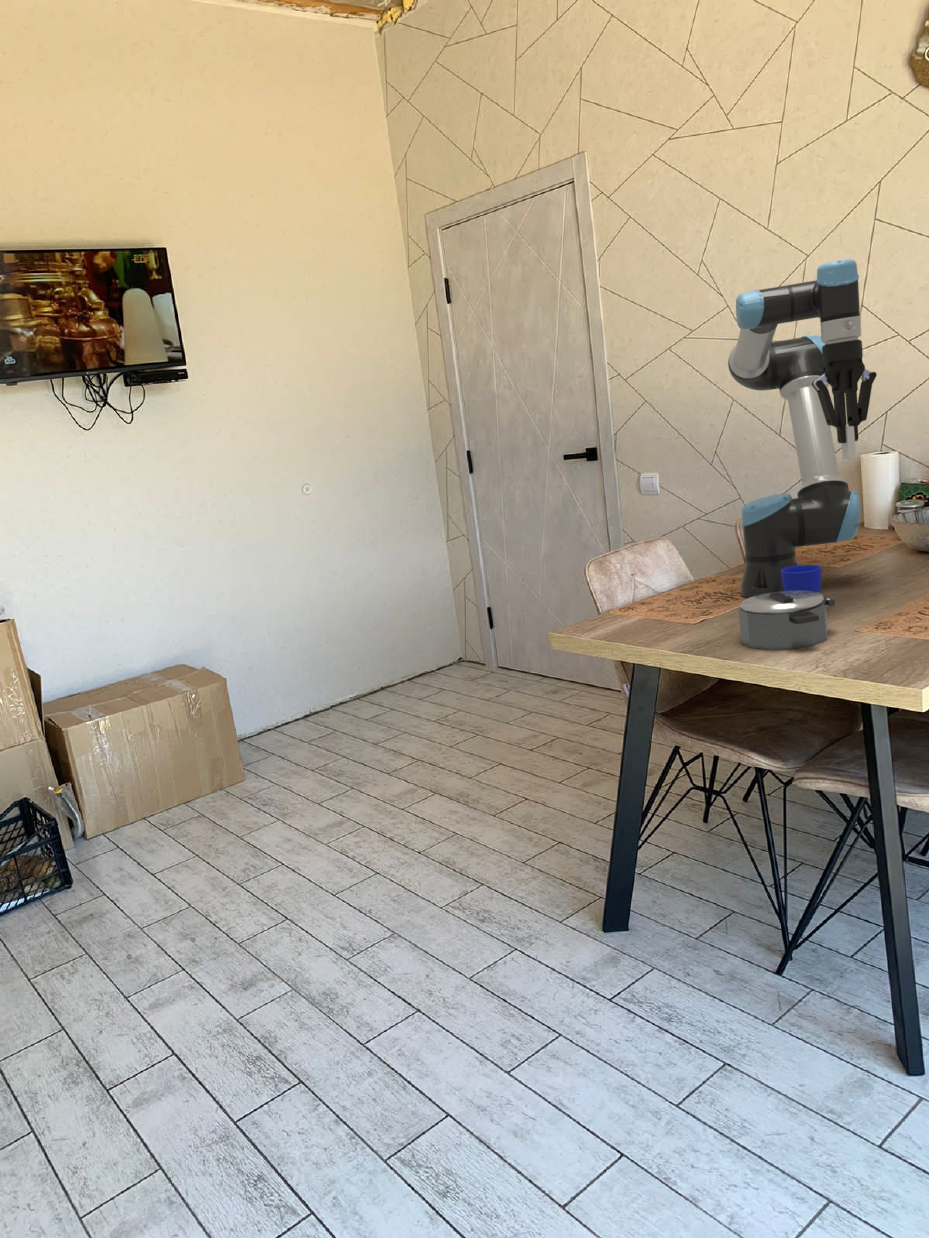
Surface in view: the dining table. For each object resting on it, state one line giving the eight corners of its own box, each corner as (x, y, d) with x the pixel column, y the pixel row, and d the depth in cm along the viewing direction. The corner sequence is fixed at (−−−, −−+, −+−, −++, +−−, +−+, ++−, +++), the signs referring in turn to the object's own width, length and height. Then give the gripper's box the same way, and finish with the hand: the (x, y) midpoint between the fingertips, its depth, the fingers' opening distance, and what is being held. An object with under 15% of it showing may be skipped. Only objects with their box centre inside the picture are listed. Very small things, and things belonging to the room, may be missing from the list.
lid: (729, 604, 193) (728, 596, 192) (801, 590, 193) (801, 583, 193) (759, 618, 177) (759, 610, 177) (838, 603, 178) (837, 595, 178)
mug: (823, 603, 210) (820, 560, 208) (824, 616, 199) (821, 570, 197) (784, 606, 213) (781, 563, 211) (784, 618, 202) (780, 573, 200)
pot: (725, 634, 197) (722, 601, 196) (805, 620, 198) (803, 588, 197) (769, 657, 175) (766, 621, 174) (859, 642, 177) (856, 606, 175)
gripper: (819, 344, 185) (827, 463, 189) (882, 334, 186) (889, 453, 190) (802, 348, 192) (810, 462, 197) (862, 338, 193) (869, 453, 198)
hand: (849, 458), depth 194 cm, fingers closed
